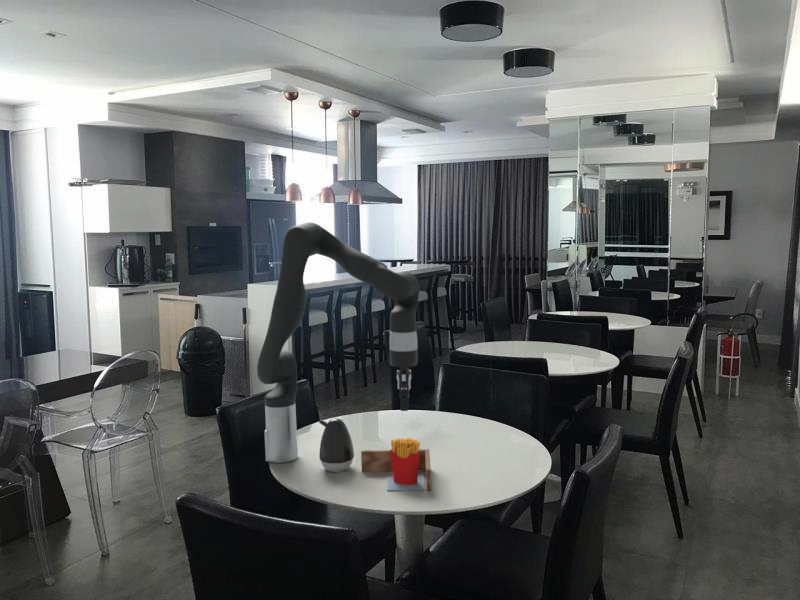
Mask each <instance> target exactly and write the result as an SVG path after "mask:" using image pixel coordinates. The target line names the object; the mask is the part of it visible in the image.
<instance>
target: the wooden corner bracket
mask: <svg viewBox="0 0 800 600" xmlns="http://www.w3.org/2000/svg"><path fill="white" fill-rule="evenodd" d="M390 450H391V449H361V450H360V457H361V459H360V461H361V473H362V472H363V473H364V472H393V471H392V463H391V455H390ZM418 451H420V453H419V466H418V472H421V471H422V472H423V471H425V484H426V485H425V486H426V489H425V490H426V492H431V491H432V473H431V472H432V471H431V467H432V466H431V455H430V448H419V450H418Z"/></svg>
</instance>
